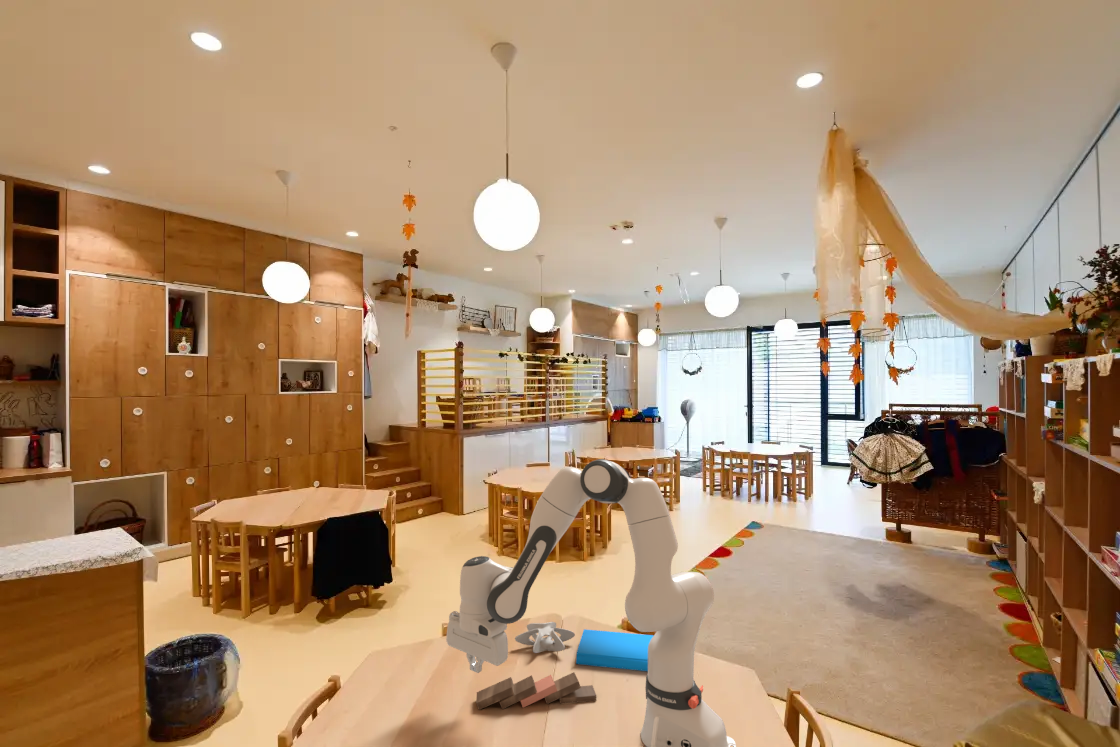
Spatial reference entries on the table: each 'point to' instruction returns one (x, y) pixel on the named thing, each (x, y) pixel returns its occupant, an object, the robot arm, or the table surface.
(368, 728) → the table surface
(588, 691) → the tile
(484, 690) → the tile
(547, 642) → the sculpture
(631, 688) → the table surface
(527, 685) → the tile
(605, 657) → the book
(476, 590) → the robot arm
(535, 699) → the tile
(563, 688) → the tile
